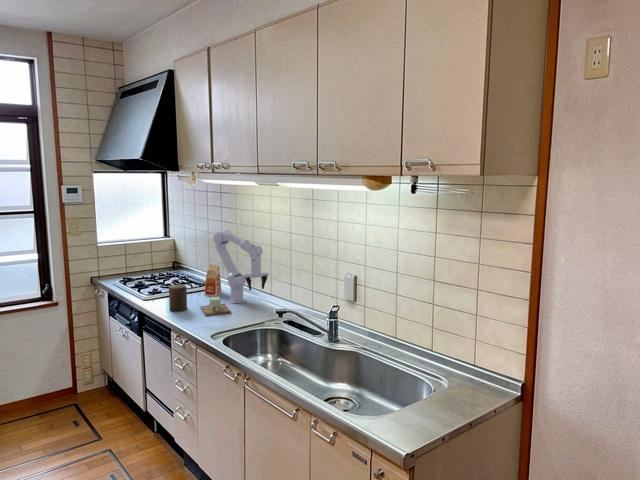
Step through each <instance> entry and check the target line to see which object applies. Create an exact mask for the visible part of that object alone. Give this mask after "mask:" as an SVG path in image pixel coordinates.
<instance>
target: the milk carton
mask: <svg viewBox="0 0 640 480" xmlns="http://www.w3.org/2000/svg"><path fill="white" fill-rule="evenodd" d="M220 267H221V266H220V265H217V264H212V263H208V268H207V271H206V276H205V281H204V282H205V284H204V297H219V296H220V295H222V283H221V280H222V279H221V273H220Z"/></svg>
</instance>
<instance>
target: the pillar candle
mask: <svg viewBox="0 0 640 480" xmlns="http://www.w3.org/2000/svg"><path fill="white" fill-rule="evenodd" d="M187 292H188V291H187V285H186V284H172V285H169V286H168V298H169V299H168V302H169V305H168V306H169V307H168V308H169V311H170V312H173V313H174V312H175V313H177V312H178V313H180V312H185V311H187V310H188V301H187V300H188V295H187Z"/></svg>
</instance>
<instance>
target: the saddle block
mask: <svg viewBox="0 0 640 480" xmlns="http://www.w3.org/2000/svg"><path fill="white" fill-rule="evenodd" d="M221 302H222V301H221V298H220V297H219V296H210V297H209V305H210V309H211V310H212V311H214V307H218V309H219V310H221V304H222V303H221Z"/></svg>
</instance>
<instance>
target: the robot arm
mask: <svg viewBox="0 0 640 480" xmlns="http://www.w3.org/2000/svg"><path fill="white" fill-rule="evenodd" d="M212 239H213V242H214V244H215V245H214V246H215V250H216V251H217V253H218V255H219V257H220V261H222V263H223V265H224V268H225V270H226V272H227V273H228V275H227V278H226V279H227V282H228V286H229V287H230V298H228V300H229V301H230V303H231V304H240V303H241V304H242V303H246V300H245V299H244V285H245V284H246V283H247V286H248V290H249V291H252V279H253V278H260V279H261V289H263V290H264V289H265V285H266V282H267V280H268V277H269V272H262V256H261V255H263V253H264V252H263V251H264V250H263V248H262V247H261V246H260V245H256V244H254V243H253V242H252V243H251V242H250V240H247V239H246V240H242V239H241V238H239V237H238V236H236V235H235V234H233V232H231V231H229V230H223V231H222V230H221V231H217V232H215V233H214V234H213V237H212ZM229 242H231V243H233V244H235V245H238V246H239V247H240V249H241V250H243V251H244V252H246V253H248V255H249V256H250V269H251V271H250V272H251V273H247V274H243V273H242V272H241V271H239V270H237V267H236V265H235V264H234V262H233V260H232V257H231V256H230V253H229V251H228V249H227V245H228V244H229Z"/></svg>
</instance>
